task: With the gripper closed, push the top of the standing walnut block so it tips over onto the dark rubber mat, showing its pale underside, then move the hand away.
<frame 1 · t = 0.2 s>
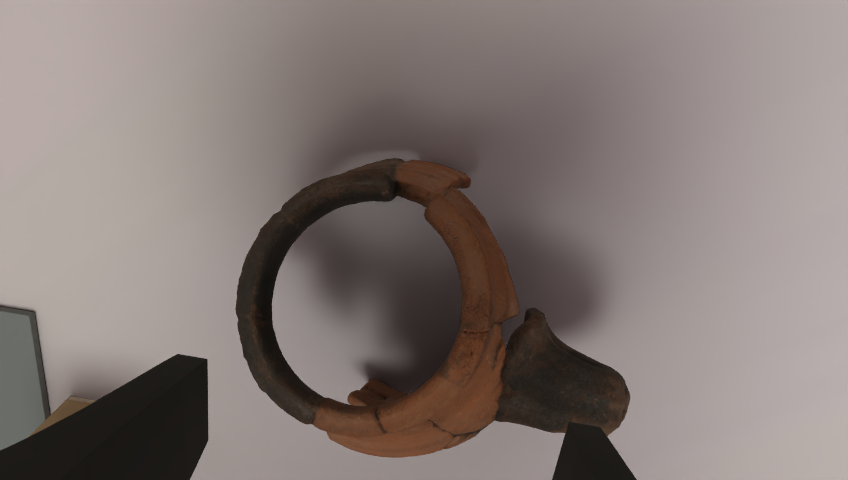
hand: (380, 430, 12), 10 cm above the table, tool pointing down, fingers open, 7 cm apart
walnut block: (118, 440, 26), on the table
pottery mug: (442, 287, 22), on the table
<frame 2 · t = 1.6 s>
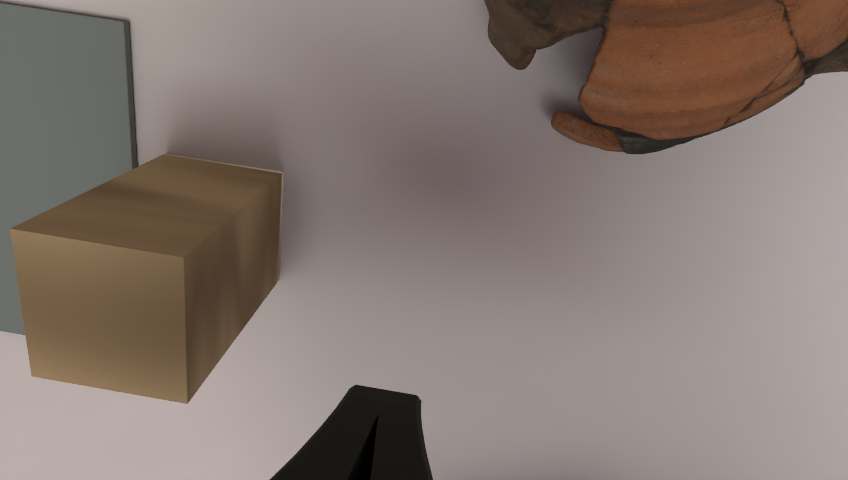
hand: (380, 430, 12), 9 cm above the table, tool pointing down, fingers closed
walnut block: (224, 218, 20), on the table
rubber mat: (14, 184, 21), on the table
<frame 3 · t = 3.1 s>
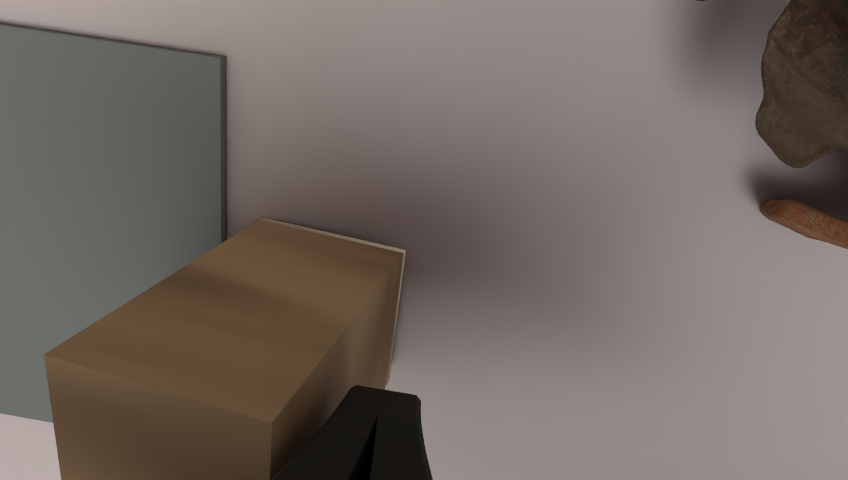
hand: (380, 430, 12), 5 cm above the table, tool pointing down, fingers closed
walnut block: (327, 300, 16), on the table, tilted 9°
rubber mat: (70, 253, 17), on the table
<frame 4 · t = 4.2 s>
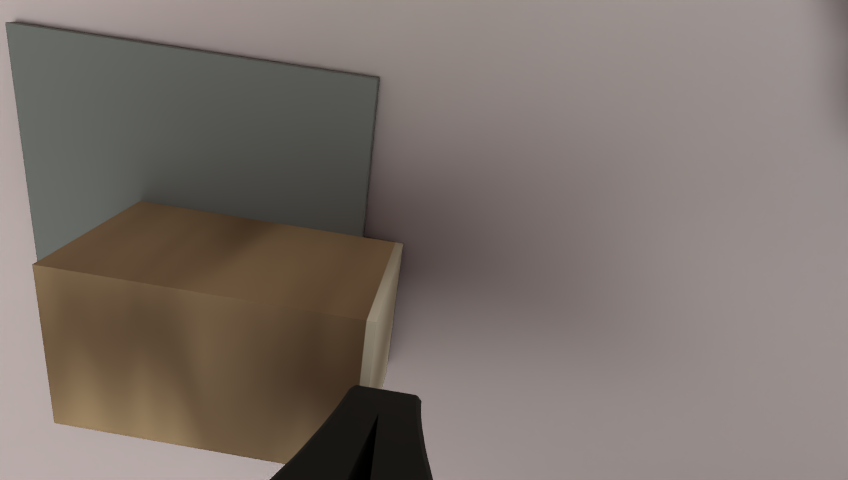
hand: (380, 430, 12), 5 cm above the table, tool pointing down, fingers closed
walnut block: (382, 351, 14), point 2 cm above the table, tilted 90°, touching rubber mat
rubber mat: (198, 272, 17), on the table
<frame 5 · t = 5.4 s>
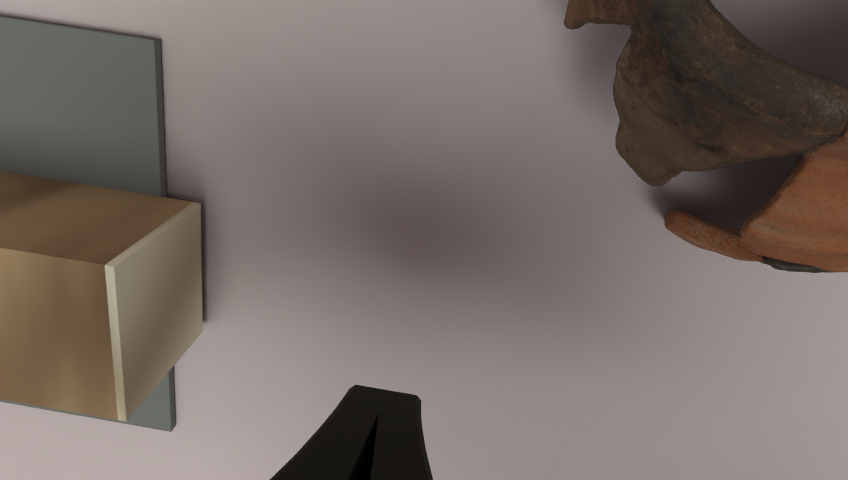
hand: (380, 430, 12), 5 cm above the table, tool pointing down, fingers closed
walnut block: (166, 304, 15), point 2 cm above the table, tilted 90°, touching rubber mat
rubber mat: (17, 234, 17), on the table
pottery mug: (814, 41, 13), on the table
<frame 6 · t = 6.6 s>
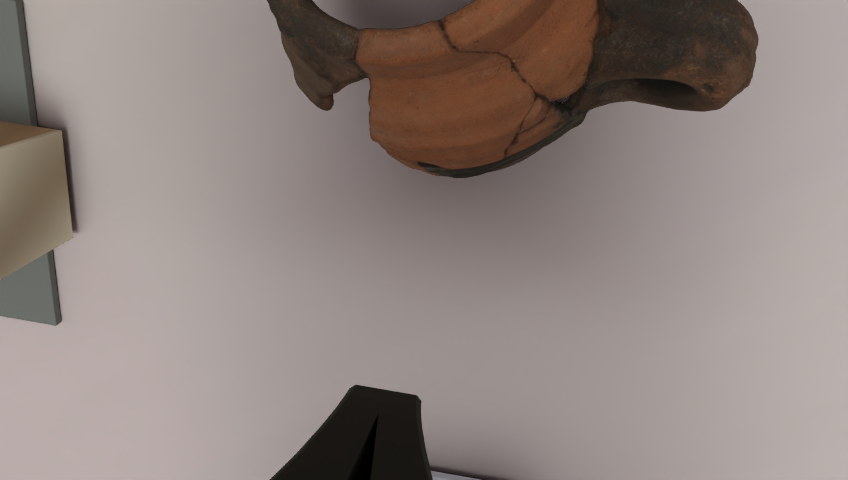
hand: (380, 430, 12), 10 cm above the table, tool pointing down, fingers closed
walnut block: (27, 204, 19), point 2 cm above the table, tilted 90°, touching rubber mat
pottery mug: (496, 13, 18), on the table
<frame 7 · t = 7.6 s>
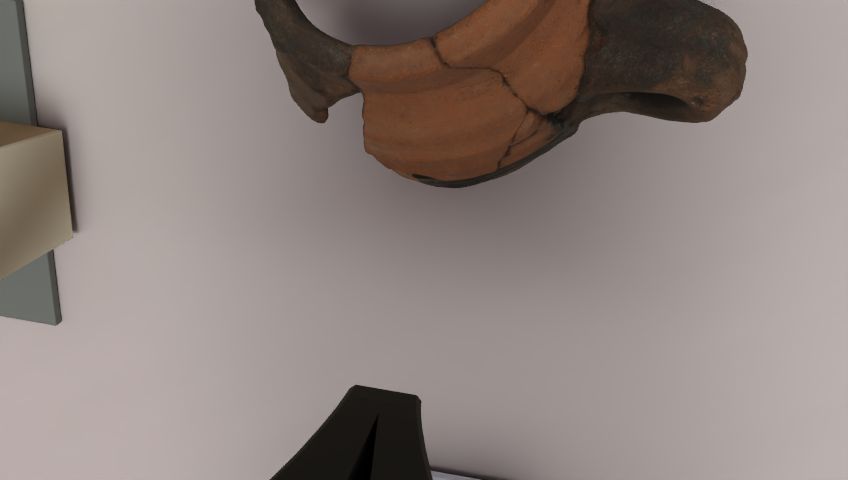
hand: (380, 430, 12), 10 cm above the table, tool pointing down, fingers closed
walnut block: (27, 204, 19), point 2 cm above the table, tilted 90°, touching rubber mat
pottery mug: (490, 24, 18), on the table
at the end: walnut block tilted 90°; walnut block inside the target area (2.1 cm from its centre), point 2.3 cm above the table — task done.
